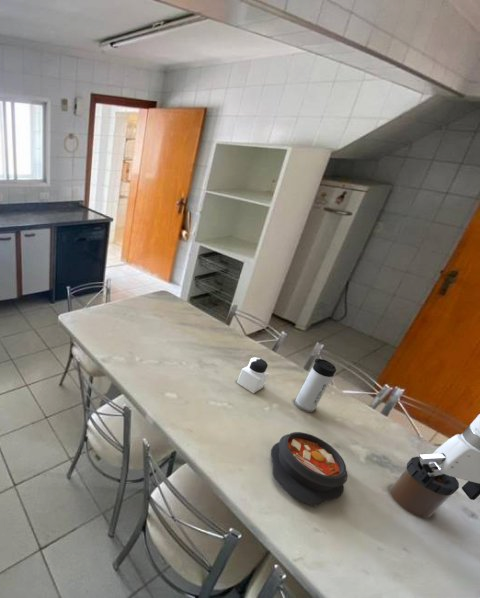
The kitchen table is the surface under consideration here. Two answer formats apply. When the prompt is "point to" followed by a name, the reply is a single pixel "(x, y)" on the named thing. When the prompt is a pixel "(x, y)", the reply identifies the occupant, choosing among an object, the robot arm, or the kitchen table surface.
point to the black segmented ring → (435, 486)
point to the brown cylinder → (417, 495)
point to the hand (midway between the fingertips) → (444, 488)
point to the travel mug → (315, 385)
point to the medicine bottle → (254, 375)
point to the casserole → (308, 468)
